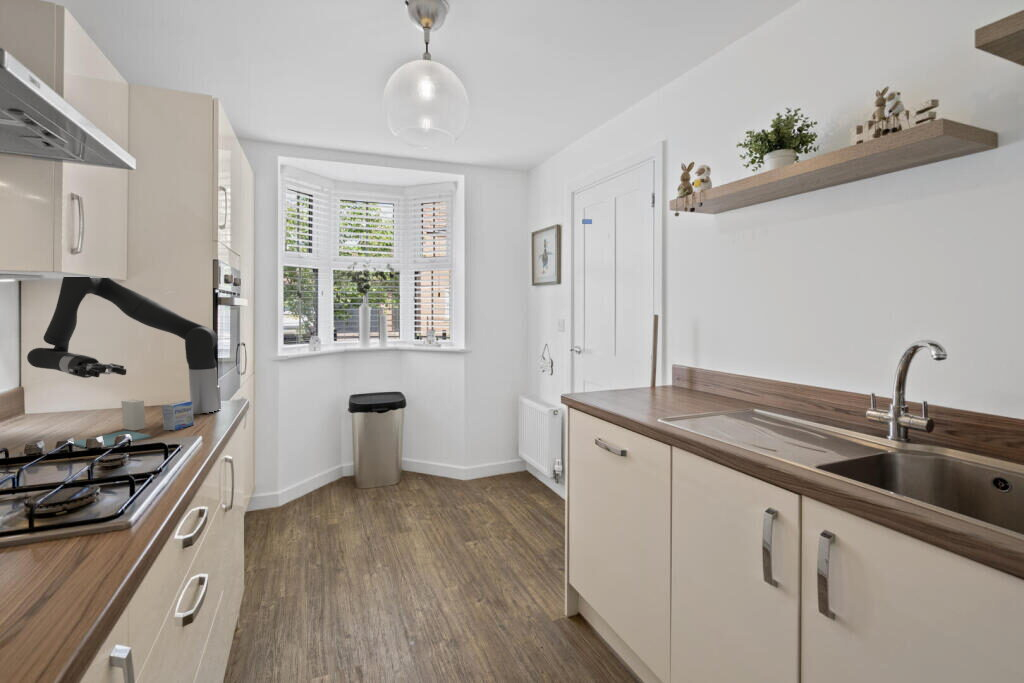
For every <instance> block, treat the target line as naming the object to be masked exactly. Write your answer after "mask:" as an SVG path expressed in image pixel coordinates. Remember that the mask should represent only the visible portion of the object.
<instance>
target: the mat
mask: <svg viewBox="0 0 1024 683" xmlns="http://www.w3.org/2000/svg"><path fill="white" fill-rule="evenodd" d="M124 434H130V435H131V436H132V441H133V442H136V441H140V440H141V441H142V440H145V439H146V440H147V439H150V438H152V435H151V434H146V433H141V432H136V431H133V430H128V429H125V430H122V431H117V432H113V433H108V434H107V433H106V434H103V435H101V436H103V440H104V445H105V446H108V447H107V448H110V447H114V446H113V445H114V439H115V437H116V436H119V435H124ZM86 439H87V438H84V439H79V440H74V441H72V442H74V445H73V446H76V447H80V448H84V449H86V448H85V447H86V445H85V444H86Z"/></svg>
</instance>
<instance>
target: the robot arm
mask: <svg viewBox="0 0 1024 683" xmlns="http://www.w3.org/2000/svg"><path fill="white" fill-rule="evenodd" d="M88 294H92V295H95V296H98V297H100V298H103V299H104V300H106V301H108V302H110V303H112V304H113V305H115V306H116V307H117V308H118V309H119V310H120V311H121V312H122V313H123V314H125V315H126V316H127V317H129V318H131V319H132V320H134V321H136V322H138V323H141V324H143V325H145V326H147V327H150V328H153V329H156V330H159V331H163V332H166V333H170V334H173V335H175V336H177V337H179V338H180V339H183V340H184V345H185V346H184V347H185V348H184V349H185V358H186V363H187V365H188V377H189V378H188V381H189V401H192V403H193V415H201V414H200V413H207V414H210V413H209V412H213V413H215V412H214V411H217V410H219V409H221V410H222V402H221V400H222V398H221V396H222V395H221V386H219V385H218V370H217V368H218V367H217V365H218V364H217V360H216V358H215V355H214V354H215V353H214V347H215V346H216V345H217V344H218V341H219V340H218V335H217V333H216V331H214V329H212V328H210V327H209V326H206V325H202V324H199V323H197V322H194V321H192V320H190V319H188V318H186V317H184V316H182V315H180V314H178V313H177V312H175V311H173V310H171V309H170V308H168V307H166V306H165V305H162V304H160V303H159V302H157V301H155V300H153V299H151V298H149V297H147V296H145V295H142V294H140V293H138V292H136V291H134V290H132V289H129V288H128V287H125V286H123V285H121V284H119V283H118V282H116V281H114V280H113V279H112V278H111V277H108V278H90V277H64V276H63V278H62V280H61V284H60V290H59V295H58V299H57V303H56V307H55V309H54V313H53V315H52V318H51V319H50V322H49V323H48V326H47V327H46V331H45V333H44V335H43V340H44V342H45V343H46V344H48V345H51V346H54V347H52V348H50V347H36V348H33V349H31V350H30V351H29V352H28V354H27V356H26V359H27V362H28V363H29V364H30V366H32V367H34V368H39V369H47V370H55V371H59V372H63V373H66V374H67V375H68V374H69V375H72V376H76V377H79V378H83V379H85V378H86V379H89V378H92V377H94V378H100V375H112V374H115V375H120V376H126V375H127V369H126V368H125V365H120V364H116V363H109V364H108V363H107V364H106V363H102V362H99V360H97V359H96V357H93V356H88V355H84V354H79V353H72V352H69V345H70V341H71V339H72V337H73V335H74V332H75V331H76V330H75V329H76V326H77V322H78V310H79V307H80V305H81V302H82V301H83V300H84V298H85V297H86V296H87V295H88ZM219 411H220V410H219ZM217 412H218V411H217Z"/></svg>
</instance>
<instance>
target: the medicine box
mask: <svg viewBox="0 0 1024 683" xmlns="http://www.w3.org/2000/svg"><path fill="white" fill-rule="evenodd" d="M161 406H162V408H161V409H162V421H163V422H162V423H163V430H164V431H169V430H174V431H173V432H175V430H176V431H179V430H182V429H181V428H183V429H185V428H184V427H186V428H189V427H192V426H191V425H193V426H194V414H193V403H192V401H190V400H181V401H177V402H172V403H168V404H163V405H161ZM188 426H189V427H188ZM178 429H179V430H178Z"/></svg>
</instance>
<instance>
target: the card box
mask: <svg viewBox="0 0 1024 683" xmlns="http://www.w3.org/2000/svg"><path fill="white" fill-rule="evenodd" d="M145 415H146V414H145V400H142V399H135V398H132V399H126V400H121V417H122V428H123V429H124V430H127V431H132V432H136V431H138V430H144V429H146V427H147V426H146V416H145Z"/></svg>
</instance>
